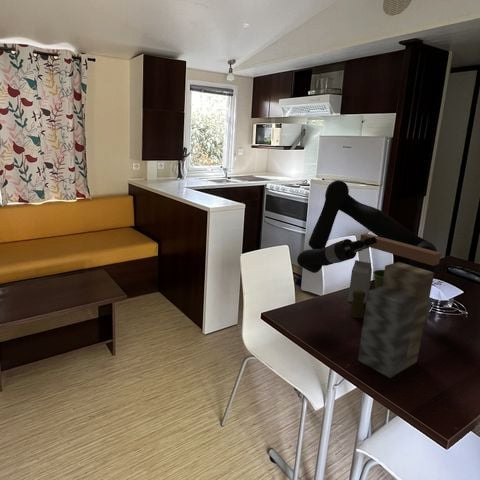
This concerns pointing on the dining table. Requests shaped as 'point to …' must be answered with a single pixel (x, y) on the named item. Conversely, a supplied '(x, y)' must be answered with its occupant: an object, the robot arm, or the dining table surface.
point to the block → (404, 250)
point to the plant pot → (378, 277)
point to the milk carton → (360, 278)
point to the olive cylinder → (357, 304)
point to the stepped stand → (395, 319)
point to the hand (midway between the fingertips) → (378, 238)
